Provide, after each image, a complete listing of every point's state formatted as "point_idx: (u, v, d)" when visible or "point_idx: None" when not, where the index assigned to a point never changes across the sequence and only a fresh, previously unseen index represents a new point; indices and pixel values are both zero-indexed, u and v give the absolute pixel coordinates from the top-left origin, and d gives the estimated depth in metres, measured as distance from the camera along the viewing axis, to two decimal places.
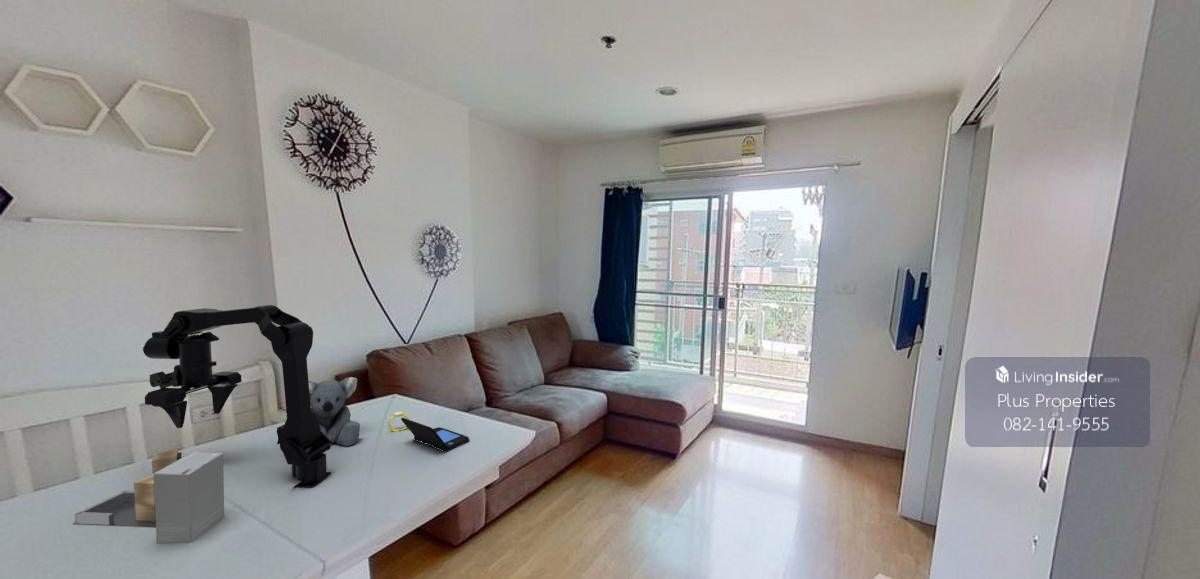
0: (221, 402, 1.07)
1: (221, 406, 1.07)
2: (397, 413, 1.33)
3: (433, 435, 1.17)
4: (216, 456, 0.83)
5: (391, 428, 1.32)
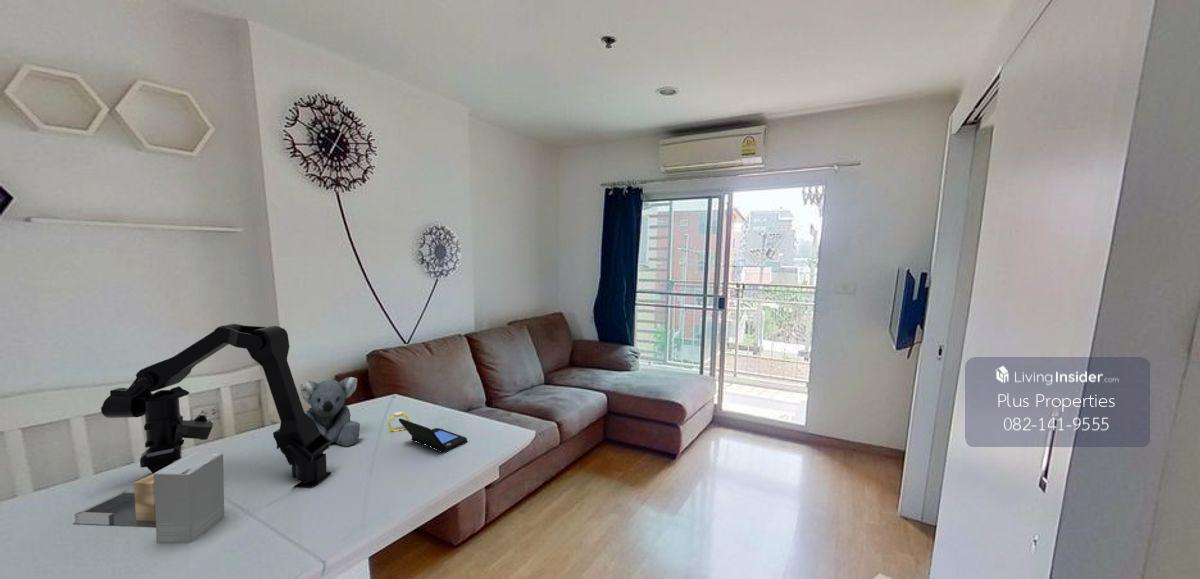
0: None
1: None
2: (397, 413, 1.33)
3: (431, 436, 1.16)
4: (216, 456, 0.83)
5: (391, 428, 1.32)
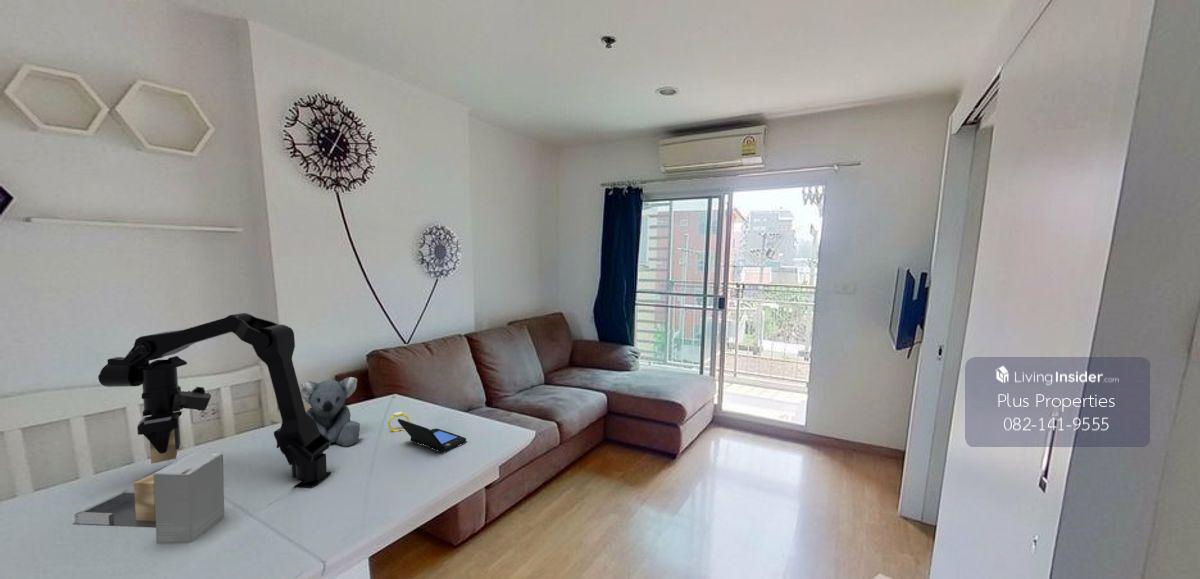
0: None
1: None
2: (397, 413, 1.33)
3: (430, 436, 1.16)
4: (216, 456, 0.83)
5: (391, 428, 1.32)
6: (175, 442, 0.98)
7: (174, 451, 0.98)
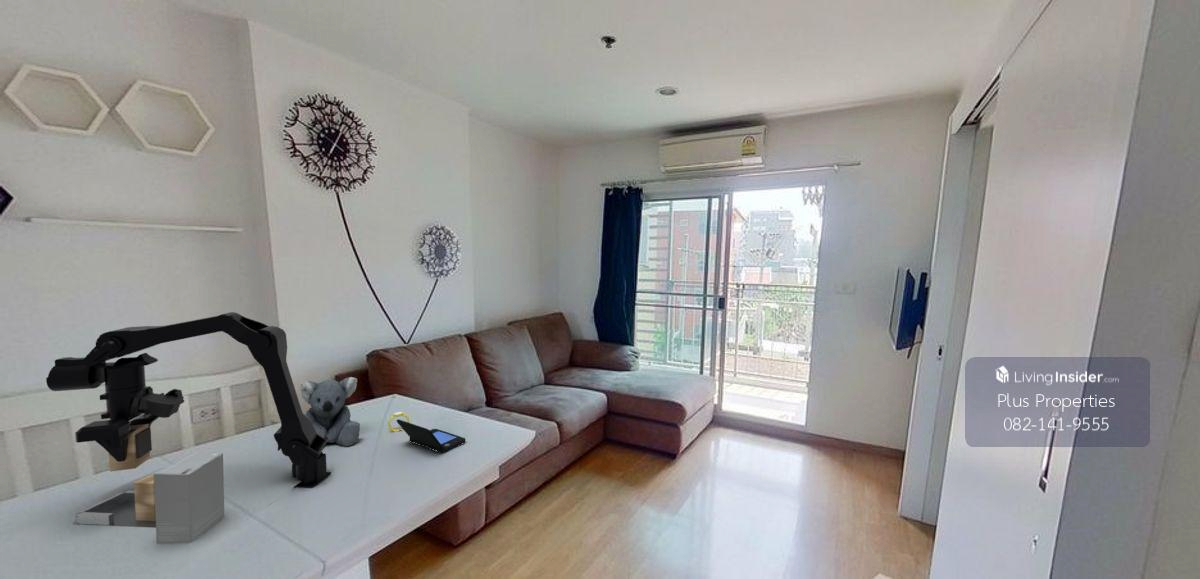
0: None
1: None
2: (397, 413, 1.33)
3: (430, 437, 1.16)
4: (216, 456, 0.83)
5: (391, 428, 1.32)
6: (135, 450, 0.88)
7: (134, 460, 0.88)
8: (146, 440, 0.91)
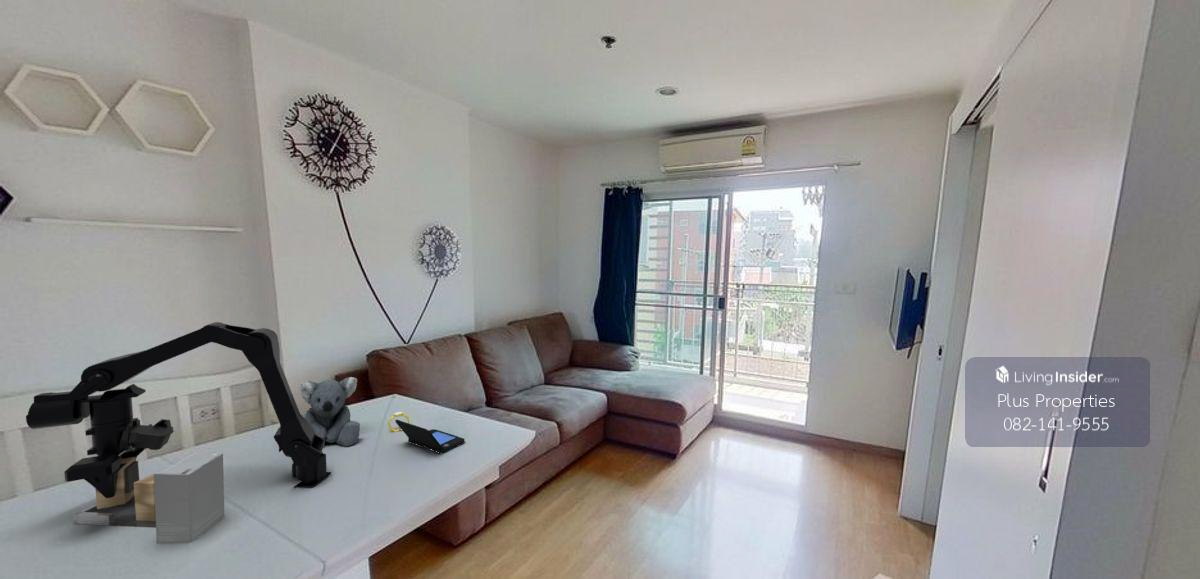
0: None
1: None
2: (397, 413, 1.33)
3: (429, 437, 1.15)
4: (216, 456, 0.83)
5: (391, 428, 1.32)
6: (125, 485, 0.86)
7: (123, 495, 0.85)
8: (134, 474, 0.88)
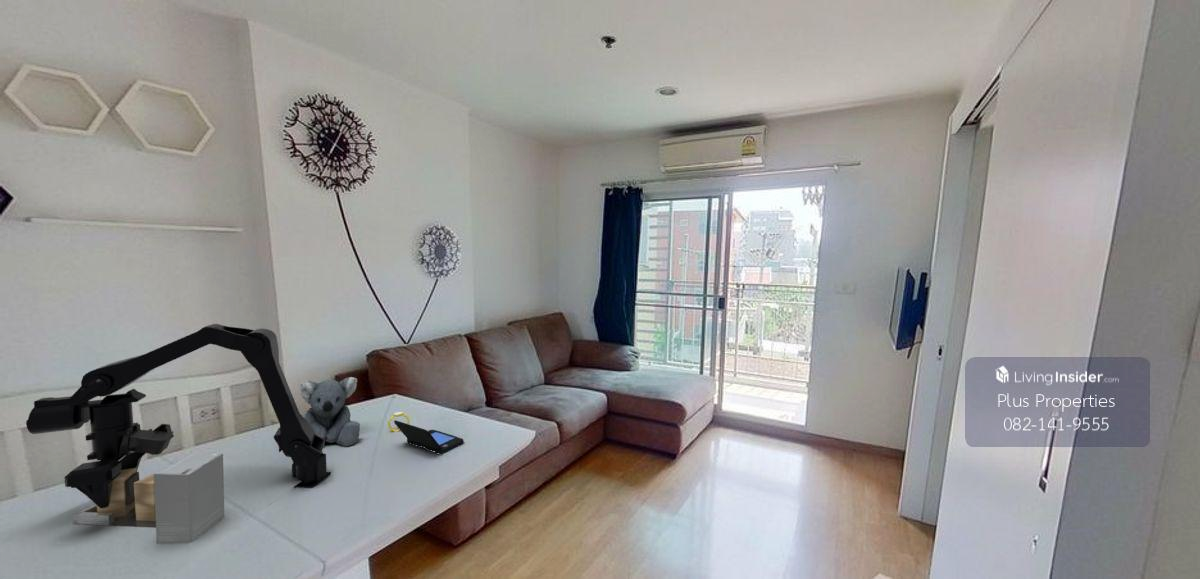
0: None
1: None
2: (397, 413, 1.33)
3: (428, 437, 1.15)
4: (216, 456, 0.83)
5: (391, 428, 1.32)
6: (125, 497, 0.86)
7: (124, 507, 0.85)
8: None
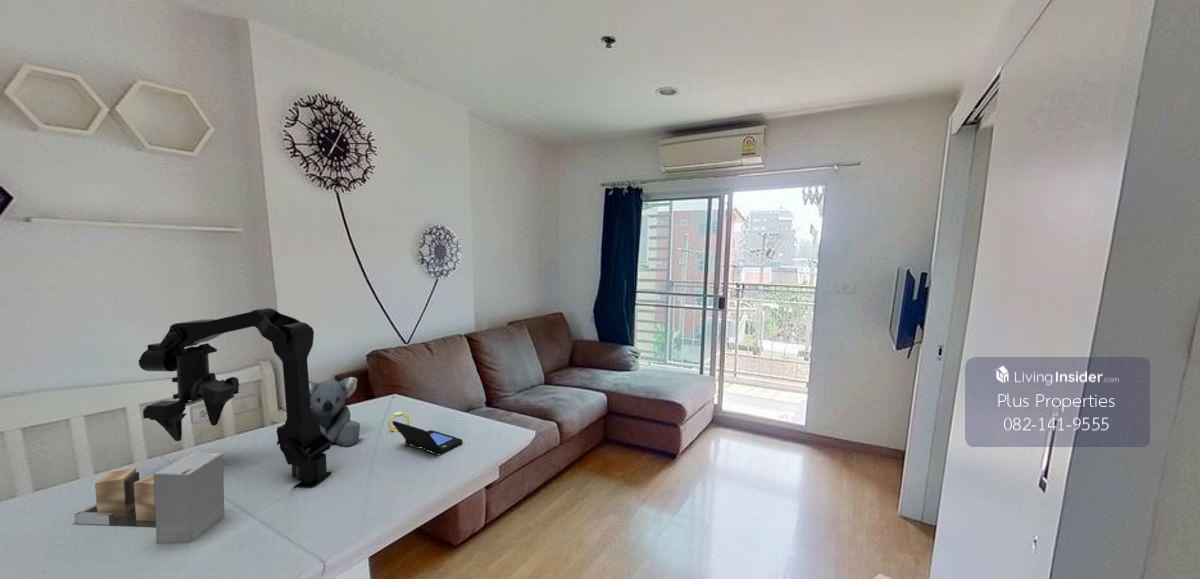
0: None
1: None
2: (397, 413, 1.33)
3: (427, 438, 1.15)
4: (216, 456, 0.83)
5: (391, 428, 1.32)
6: (125, 497, 0.86)
7: (124, 507, 0.85)
8: None
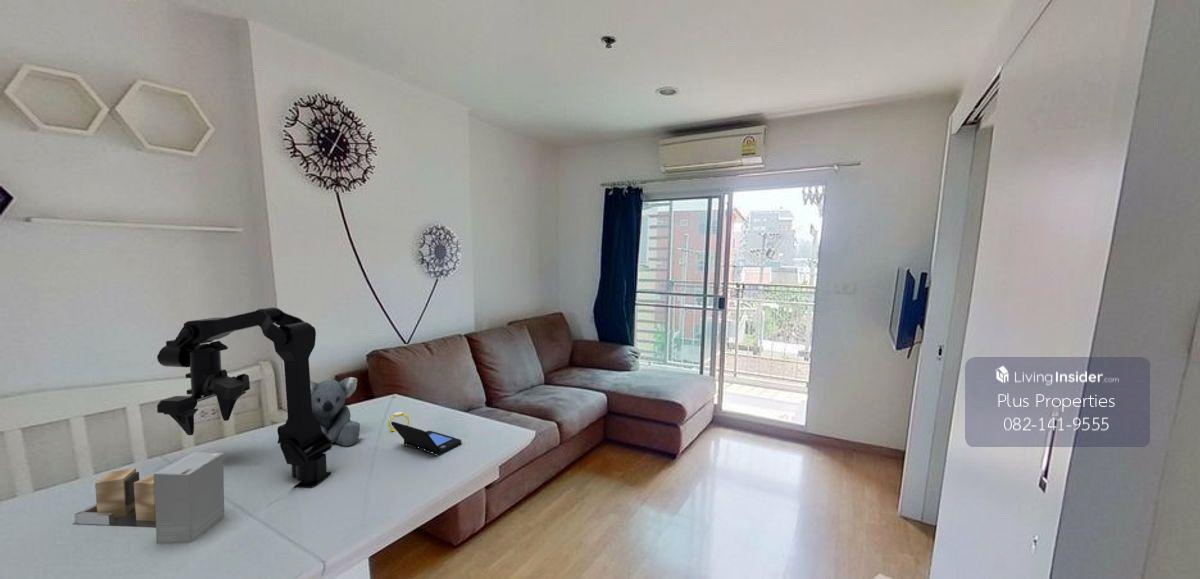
0: None
1: None
2: (397, 413, 1.33)
3: (426, 438, 1.14)
4: (216, 456, 0.83)
5: (391, 428, 1.32)
6: (125, 497, 0.86)
7: (124, 507, 0.85)
8: None
